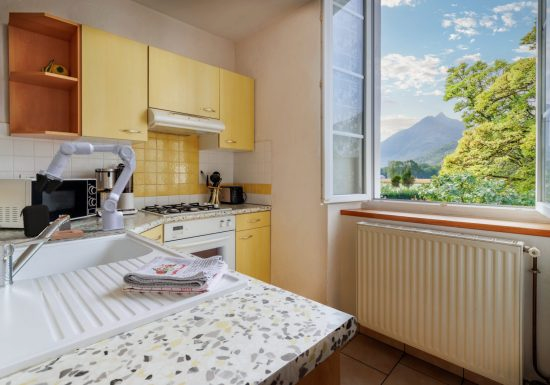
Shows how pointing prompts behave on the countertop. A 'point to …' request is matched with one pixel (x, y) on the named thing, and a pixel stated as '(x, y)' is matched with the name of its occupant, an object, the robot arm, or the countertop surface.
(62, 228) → the charger block
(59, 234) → the socket plate
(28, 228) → the carrying case or bag
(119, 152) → the robot arm
